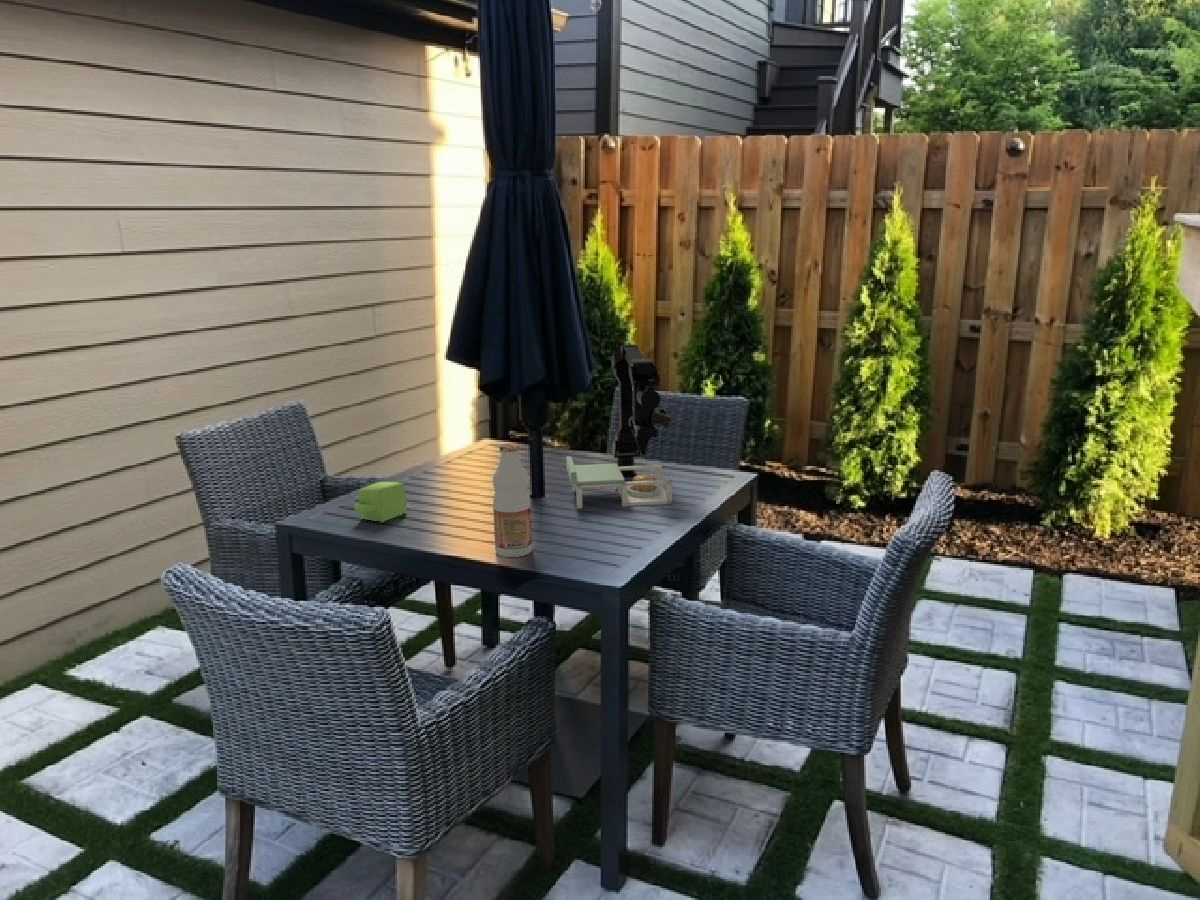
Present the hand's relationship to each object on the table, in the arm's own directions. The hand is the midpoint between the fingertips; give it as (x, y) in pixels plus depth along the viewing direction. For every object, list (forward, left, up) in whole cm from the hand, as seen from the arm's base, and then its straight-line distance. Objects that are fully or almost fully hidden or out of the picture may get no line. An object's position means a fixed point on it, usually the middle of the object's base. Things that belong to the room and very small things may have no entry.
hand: (643, 454), depth 286 cm
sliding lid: (0, -15, -6) cm, 16 cm away
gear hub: (0, 0, -12) cm, 12 cm away
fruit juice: (+44, -40, -13) cm, 61 cm away
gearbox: (+7, -77, -13) cm, 78 cm away
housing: (0, -7, -13) cm, 15 cm away
